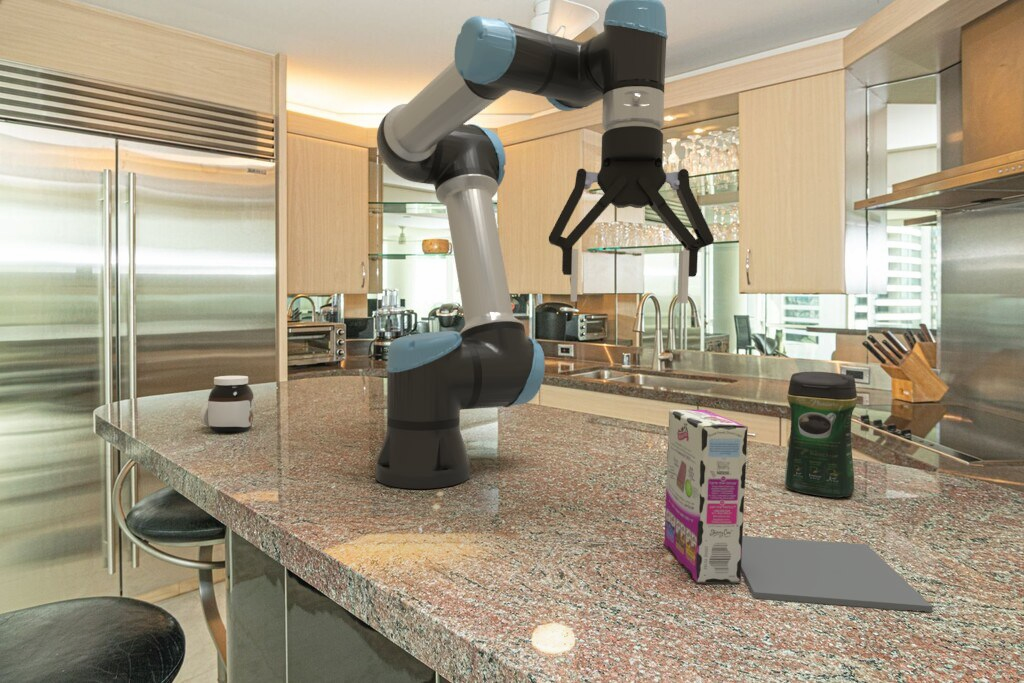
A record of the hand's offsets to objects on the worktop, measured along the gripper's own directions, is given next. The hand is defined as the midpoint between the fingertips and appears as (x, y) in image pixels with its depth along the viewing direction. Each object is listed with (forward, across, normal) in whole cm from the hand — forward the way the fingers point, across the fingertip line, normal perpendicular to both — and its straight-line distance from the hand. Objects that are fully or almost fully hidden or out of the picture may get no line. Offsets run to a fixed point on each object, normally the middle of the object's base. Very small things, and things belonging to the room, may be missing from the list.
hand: (627, 302), depth 82 cm
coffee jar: (+29, +32, +20) cm, 47 cm away
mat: (+29, +19, -12) cm, 37 cm away
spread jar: (+29, -80, +52) cm, 100 cm away
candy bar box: (+29, +8, -12) cm, 32 cm away
